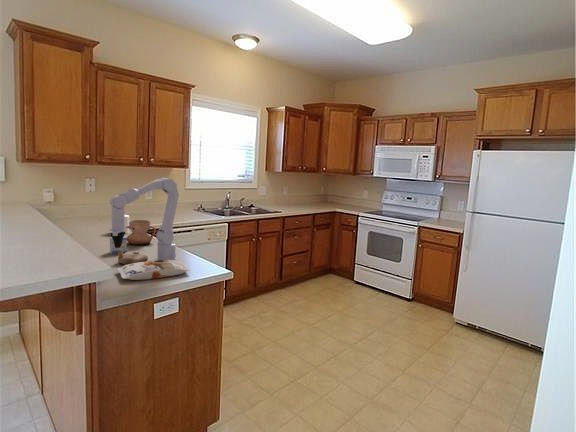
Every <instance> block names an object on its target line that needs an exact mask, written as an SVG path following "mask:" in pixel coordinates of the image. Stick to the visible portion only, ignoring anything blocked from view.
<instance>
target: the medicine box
mask: <svg viewBox="0 0 576 432" xmlns="http://www.w3.org/2000/svg"><path fill="white" fill-rule="evenodd" d="M119 249H122V250H123V253H124V254H126V253H127V240H126V236H125V235H124V237H123V241H122V245H121V247H120V248H115V245H114V241H113V239H112V237H111V236H110V237H109V252H110V254H111V255H112V254H113V255H114V254H118V250H119ZM125 252H126V253H125Z"/></svg>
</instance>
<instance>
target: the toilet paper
mask: <svg viewBox="0 0 576 432" xmlns="http://www.w3.org/2000/svg"><path fill="white" fill-rule="evenodd" d="M130 218H131V216H130V215H129V214H125V226H129V221H131V219H130ZM130 230H131V229H129V228H125V231H123V232H125V235H126V234H131V233H130V232H131V231H130Z"/></svg>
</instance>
